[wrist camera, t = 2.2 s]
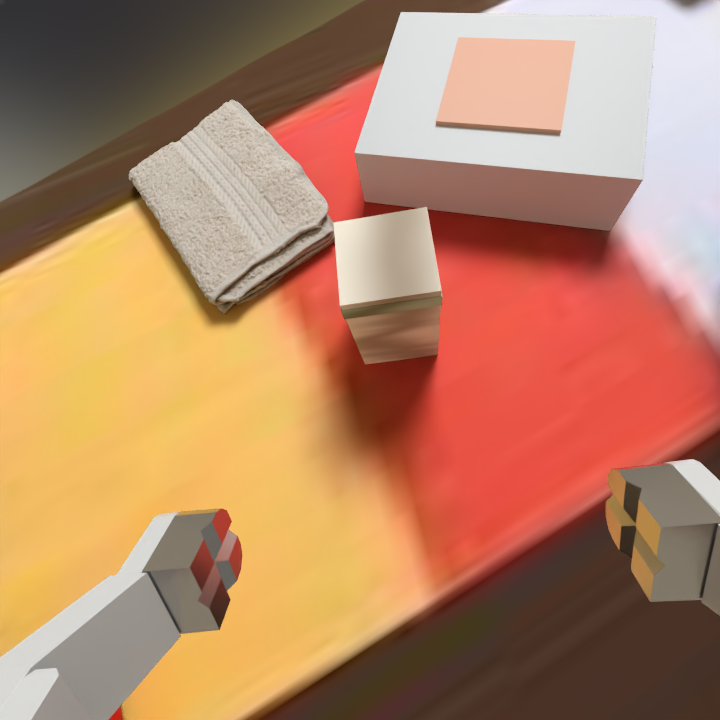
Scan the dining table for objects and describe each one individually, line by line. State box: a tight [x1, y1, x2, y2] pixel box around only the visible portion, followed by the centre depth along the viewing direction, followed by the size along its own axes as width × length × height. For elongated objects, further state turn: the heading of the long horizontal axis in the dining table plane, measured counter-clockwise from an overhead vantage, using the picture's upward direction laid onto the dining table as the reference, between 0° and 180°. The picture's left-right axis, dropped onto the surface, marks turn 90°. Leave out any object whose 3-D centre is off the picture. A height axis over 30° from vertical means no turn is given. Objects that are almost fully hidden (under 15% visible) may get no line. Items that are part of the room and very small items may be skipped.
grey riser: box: [355, 12, 656, 231], centre depth 32 cm, size 18×14×5 cm
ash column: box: [334, 207, 442, 364], centre depth 26 cm, size 5×5×9 cm
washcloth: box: [129, 100, 335, 314], centre depth 35 cm, size 12×18×3 cm, turn 36°
